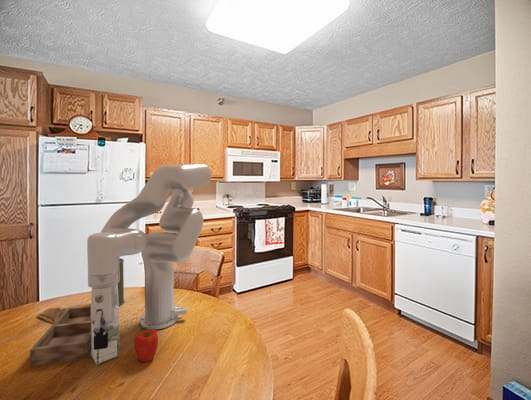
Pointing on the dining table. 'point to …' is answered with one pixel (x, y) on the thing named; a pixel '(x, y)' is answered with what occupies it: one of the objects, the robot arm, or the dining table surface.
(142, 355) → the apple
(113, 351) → the syrup box
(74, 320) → the tray
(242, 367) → the dining table surface
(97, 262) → the robot arm
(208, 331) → the dining table surface
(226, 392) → the dining table surface
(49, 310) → the shard
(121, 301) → the canister
